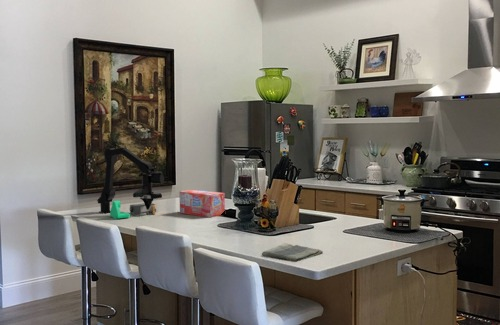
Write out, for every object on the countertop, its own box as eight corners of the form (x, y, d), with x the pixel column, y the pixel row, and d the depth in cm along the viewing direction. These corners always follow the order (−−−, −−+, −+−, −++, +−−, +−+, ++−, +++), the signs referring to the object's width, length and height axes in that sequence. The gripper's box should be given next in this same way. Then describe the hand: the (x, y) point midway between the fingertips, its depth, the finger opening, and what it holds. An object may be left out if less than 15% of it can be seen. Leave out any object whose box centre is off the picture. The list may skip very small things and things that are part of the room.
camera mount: (131, 218, 327) (130, 200, 326) (118, 220, 322) (117, 202, 322) (122, 216, 337) (121, 198, 336) (110, 217, 332) (109, 200, 331)
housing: (128, 213, 346) (128, 204, 346) (149, 210, 354) (149, 202, 354) (133, 214, 340) (132, 205, 340) (154, 211, 348) (154, 203, 348)
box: (225, 214, 332) (225, 191, 331) (210, 217, 322) (209, 193, 321) (194, 211, 350) (194, 188, 349) (179, 213, 340) (178, 191, 339)
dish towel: (296, 263, 215) (296, 255, 215) (260, 257, 227) (260, 249, 227) (324, 254, 229) (324, 246, 229) (289, 248, 241) (289, 241, 241)
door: (152, 214, 338) (152, 206, 337) (154, 211, 348) (154, 204, 348) (156, 214, 338) (155, 206, 338) (157, 211, 348) (157, 203, 348)
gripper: (126, 184, 339) (127, 210, 340) (149, 185, 329) (150, 212, 330) (139, 182, 349) (140, 207, 350) (162, 183, 339) (163, 209, 340)
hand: (147, 209), depth 342 cm, fingers closed
